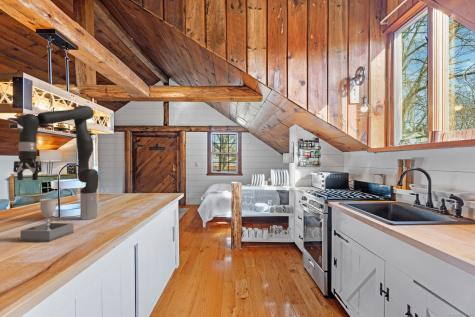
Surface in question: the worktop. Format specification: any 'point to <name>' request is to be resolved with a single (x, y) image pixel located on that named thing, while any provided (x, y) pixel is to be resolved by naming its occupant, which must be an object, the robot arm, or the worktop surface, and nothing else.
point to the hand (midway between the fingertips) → (27, 180)
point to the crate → (46, 232)
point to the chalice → (48, 209)
